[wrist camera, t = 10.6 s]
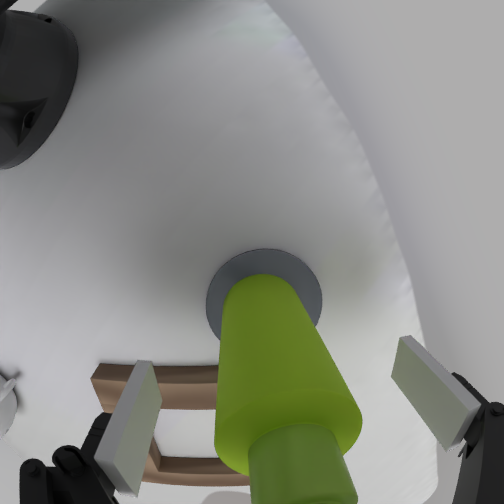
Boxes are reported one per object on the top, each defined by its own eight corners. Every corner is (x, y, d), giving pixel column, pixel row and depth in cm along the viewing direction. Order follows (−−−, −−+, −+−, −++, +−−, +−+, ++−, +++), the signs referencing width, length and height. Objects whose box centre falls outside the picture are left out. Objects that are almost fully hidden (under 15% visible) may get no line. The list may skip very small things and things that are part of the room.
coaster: (201, 252, 21) (200, 254, 21) (321, 245, 22) (323, 247, 21) (212, 356, 24) (212, 360, 23) (317, 347, 24) (319, 351, 23)
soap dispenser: (231, 254, 21) (230, 596, 2) (313, 293, 22) (469, 536, 3) (198, 320, 22) (146, 599, 3) (276, 352, 23) (338, 598, 4)
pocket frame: (99, 363, 23) (90, 378, 21) (283, 361, 24) (288, 378, 22) (144, 467, 27) (141, 481, 25) (281, 466, 28) (283, 482, 26)
